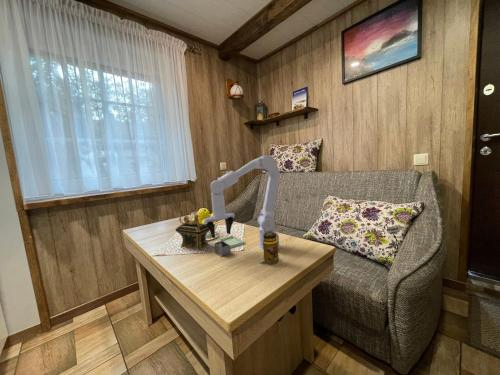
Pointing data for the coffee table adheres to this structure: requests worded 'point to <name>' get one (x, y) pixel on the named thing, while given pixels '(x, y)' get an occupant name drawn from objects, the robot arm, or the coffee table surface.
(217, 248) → the grey open box
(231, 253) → the tan rectangular block
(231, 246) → the tray
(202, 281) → the coffee table surface
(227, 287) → the coffee table surface
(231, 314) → the coffee table surface
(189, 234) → the decorative box
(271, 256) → the condiment
